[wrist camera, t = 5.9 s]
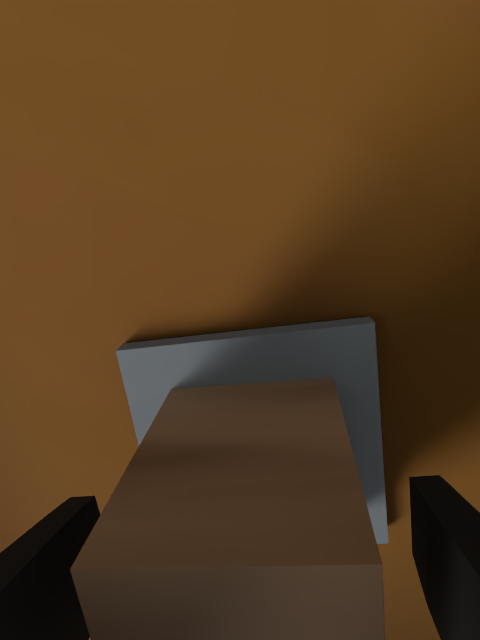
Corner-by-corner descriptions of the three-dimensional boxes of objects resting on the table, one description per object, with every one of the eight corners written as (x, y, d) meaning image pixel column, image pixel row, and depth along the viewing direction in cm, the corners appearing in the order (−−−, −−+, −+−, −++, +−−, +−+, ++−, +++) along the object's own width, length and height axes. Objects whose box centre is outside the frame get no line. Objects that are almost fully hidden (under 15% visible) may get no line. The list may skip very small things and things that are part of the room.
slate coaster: (383, 528, 13) (388, 543, 13) (169, 538, 14) (164, 552, 14) (370, 316, 12) (374, 323, 11) (123, 343, 12) (115, 350, 12)
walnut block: (342, 515, 13) (390, 780, 7) (195, 519, 13) (129, 769, 8) (333, 377, 11) (382, 564, 6) (171, 388, 12) (70, 569, 6)
